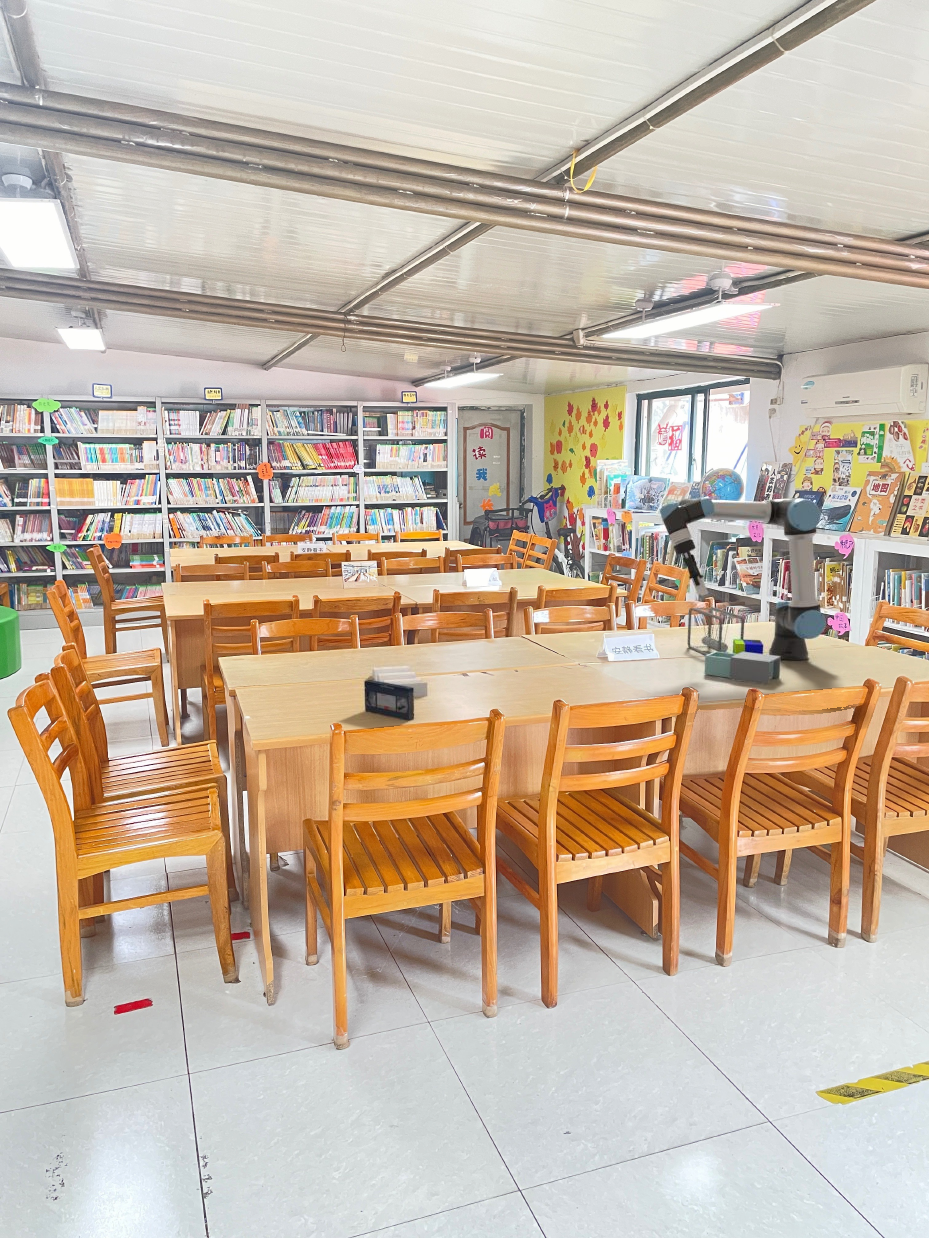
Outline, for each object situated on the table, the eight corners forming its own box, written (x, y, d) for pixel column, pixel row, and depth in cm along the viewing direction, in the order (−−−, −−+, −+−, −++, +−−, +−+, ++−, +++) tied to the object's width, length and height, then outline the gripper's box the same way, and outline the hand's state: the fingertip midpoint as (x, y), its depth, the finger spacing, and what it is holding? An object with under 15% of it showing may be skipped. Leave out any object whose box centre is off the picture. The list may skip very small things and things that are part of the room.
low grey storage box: (729, 679, 319) (730, 657, 318) (741, 673, 329) (742, 651, 327) (768, 684, 311) (769, 661, 309) (779, 678, 320) (780, 656, 319)
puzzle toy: (761, 670, 333) (763, 644, 332) (734, 669, 335) (735, 643, 334) (758, 665, 343) (760, 640, 342) (732, 664, 345) (733, 639, 344)
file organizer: (406, 675, 328) (406, 661, 327) (427, 697, 295) (427, 682, 294) (371, 677, 325) (371, 663, 324) (388, 700, 292) (388, 685, 291)
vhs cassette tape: (364, 711, 276) (363, 680, 274) (370, 709, 278) (370, 678, 276) (408, 721, 264) (407, 689, 263) (414, 719, 267) (414, 687, 265)
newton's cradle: (742, 660, 351) (745, 617, 348) (718, 661, 349) (720, 617, 347) (709, 646, 380) (711, 606, 377) (686, 647, 379) (688, 606, 376)
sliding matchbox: (704, 674, 326) (705, 655, 325) (714, 669, 334) (715, 651, 332) (763, 682, 313) (764, 663, 312) (772, 677, 320) (773, 658, 319)
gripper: (676, 548, 346) (696, 598, 343) (669, 543, 322) (690, 597, 320) (695, 541, 343) (715, 591, 341) (688, 535, 320) (710, 589, 317)
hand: (703, 594), depth 330 cm, fingers open, 13 cm apart
